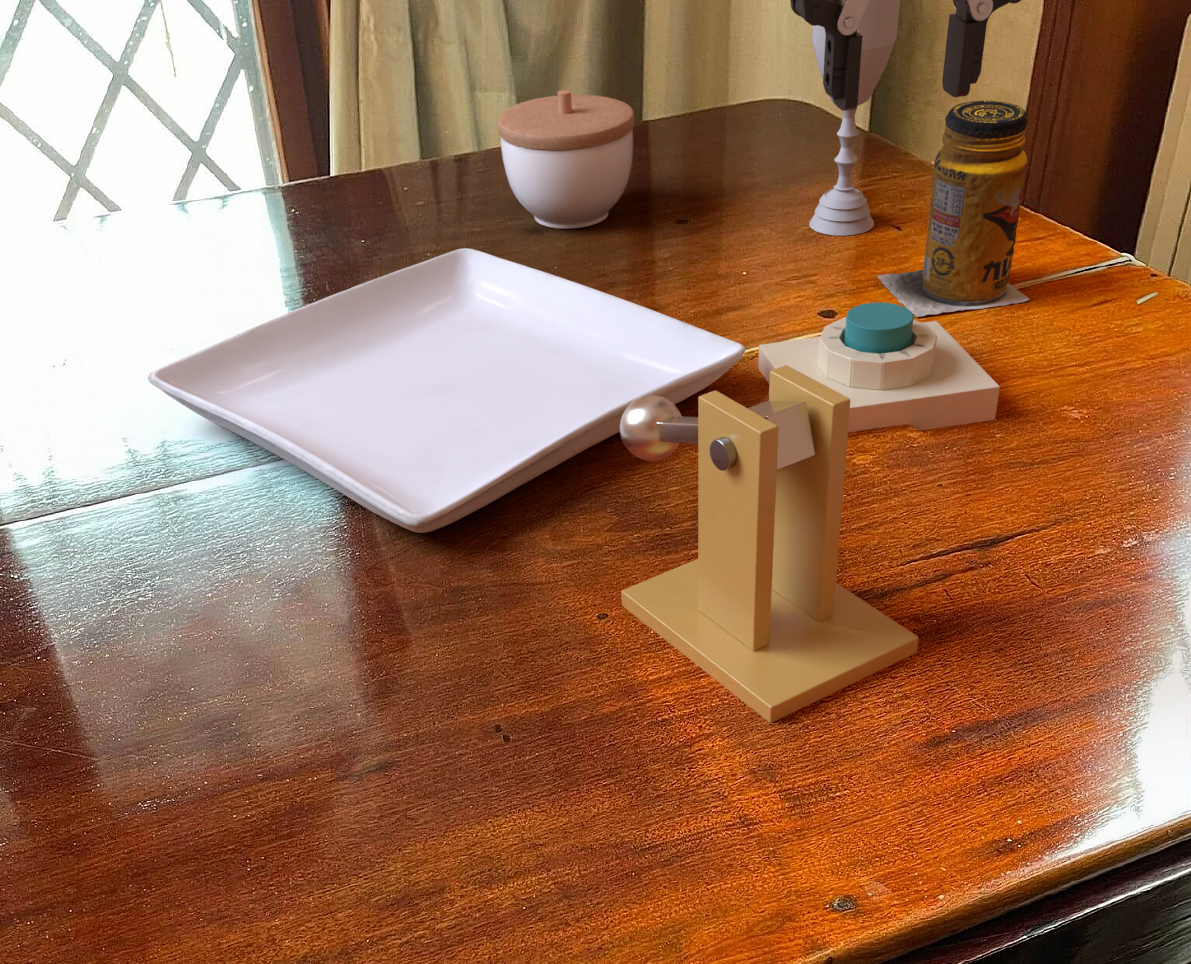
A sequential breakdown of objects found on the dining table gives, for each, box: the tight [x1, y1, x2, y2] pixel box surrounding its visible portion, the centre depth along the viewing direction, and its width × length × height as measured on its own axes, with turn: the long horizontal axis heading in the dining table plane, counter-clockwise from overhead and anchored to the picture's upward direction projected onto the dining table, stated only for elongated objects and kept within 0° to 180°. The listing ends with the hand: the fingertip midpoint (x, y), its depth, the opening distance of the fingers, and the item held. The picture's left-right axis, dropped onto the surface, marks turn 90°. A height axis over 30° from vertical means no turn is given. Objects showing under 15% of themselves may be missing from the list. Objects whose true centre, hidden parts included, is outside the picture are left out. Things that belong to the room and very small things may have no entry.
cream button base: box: [757, 316, 1001, 433], centre depth 87 cm, size 12×10×4 cm
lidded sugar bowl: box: [497, 89, 635, 230], centre depth 112 cm, size 11×11×9 cm
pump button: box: [845, 302, 915, 354], centre depth 85 cm, size 4×4×2 cm
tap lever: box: [619, 395, 815, 470], centre depth 67 cm, size 13×3×3 cm, turn 34°
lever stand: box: [620, 365, 919, 724], centre depth 65 cm, size 12×9×13 cm
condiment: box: [876, 100, 1031, 318], centre depth 96 cm, size 7×8×12 cm
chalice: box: [808, 0, 901, 237], centre depth 105 cm, size 7×7×18 cm
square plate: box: [147, 247, 747, 534], centre depth 88 cm, size 27×27×4 cm
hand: (899, 98), depth 77 cm, fingers open, 5 cm apart
